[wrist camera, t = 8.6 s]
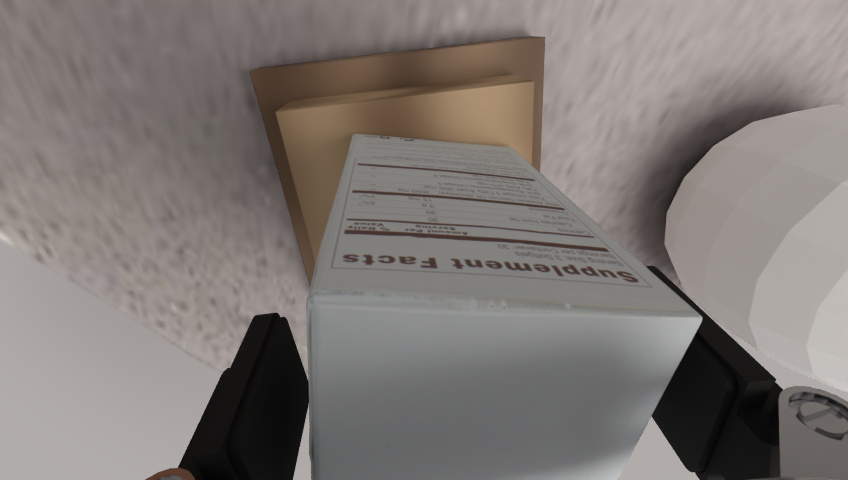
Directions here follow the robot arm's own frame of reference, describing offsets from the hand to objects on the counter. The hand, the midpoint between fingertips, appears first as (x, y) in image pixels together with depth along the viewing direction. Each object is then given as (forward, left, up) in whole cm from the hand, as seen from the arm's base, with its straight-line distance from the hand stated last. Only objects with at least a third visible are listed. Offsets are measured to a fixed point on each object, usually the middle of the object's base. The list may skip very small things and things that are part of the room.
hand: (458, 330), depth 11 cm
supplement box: (0, 0, -9) cm, 9 cm away
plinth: (0, 0, -14) cm, 14 cm away
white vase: (-21, +4, -14) cm, 26 cm away
